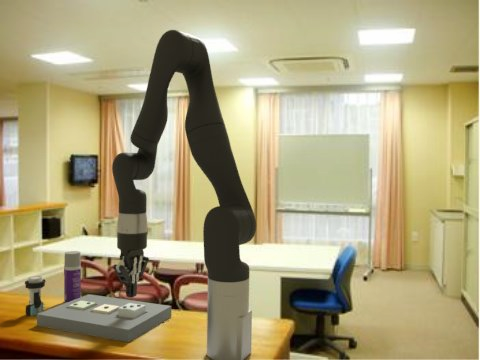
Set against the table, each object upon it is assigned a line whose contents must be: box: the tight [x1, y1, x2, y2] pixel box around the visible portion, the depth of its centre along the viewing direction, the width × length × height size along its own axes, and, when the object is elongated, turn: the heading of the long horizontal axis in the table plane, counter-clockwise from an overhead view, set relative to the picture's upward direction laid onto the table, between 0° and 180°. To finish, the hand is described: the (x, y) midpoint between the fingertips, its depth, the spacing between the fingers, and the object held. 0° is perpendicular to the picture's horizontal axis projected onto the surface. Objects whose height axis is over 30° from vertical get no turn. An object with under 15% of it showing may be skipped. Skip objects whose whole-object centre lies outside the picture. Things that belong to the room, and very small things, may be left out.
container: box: [63, 250, 82, 304], centre depth 141 cm, size 5×5×15 cm
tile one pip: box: [93, 304, 120, 315], centre depth 124 cm, size 5×5×3 cm
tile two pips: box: [68, 301, 96, 311], centre depth 127 cm, size 5×5×3 cm
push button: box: [24, 275, 46, 317], centre depth 131 cm, size 7×5×10 cm
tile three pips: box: [118, 303, 145, 319], centre depth 121 cm, size 5×5×3 cm
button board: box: [36, 293, 172, 343], centre depth 124 cm, size 28×20×3 cm
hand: (131, 296), depth 121 cm, fingers closed
